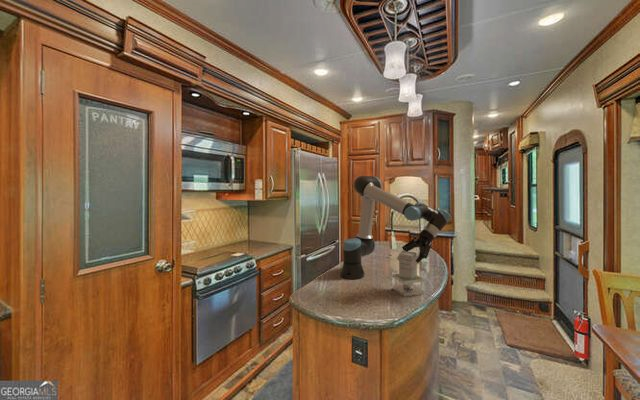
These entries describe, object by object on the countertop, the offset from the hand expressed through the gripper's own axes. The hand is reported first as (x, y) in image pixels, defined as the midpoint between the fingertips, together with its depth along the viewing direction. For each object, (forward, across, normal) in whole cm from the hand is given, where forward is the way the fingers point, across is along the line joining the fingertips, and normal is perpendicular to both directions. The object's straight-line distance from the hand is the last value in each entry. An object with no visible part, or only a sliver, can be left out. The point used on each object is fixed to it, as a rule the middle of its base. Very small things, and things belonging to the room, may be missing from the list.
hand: (404, 263), depth 145 cm
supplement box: (+4, 0, -7) cm, 8 cm away
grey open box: (+10, 0, -12) cm, 16 cm away
